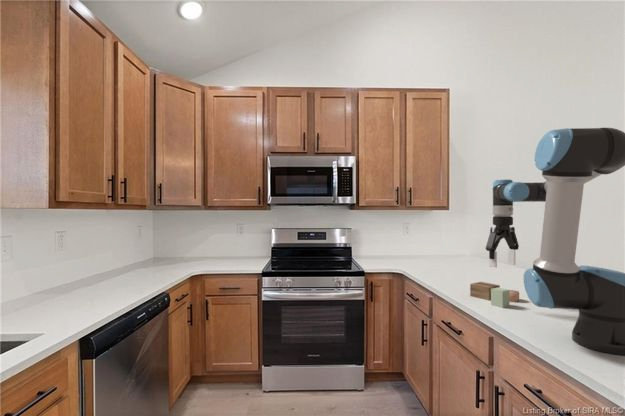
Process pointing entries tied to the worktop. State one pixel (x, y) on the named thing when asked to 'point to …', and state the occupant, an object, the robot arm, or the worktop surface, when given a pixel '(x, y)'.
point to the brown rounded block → (513, 296)
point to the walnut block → (482, 290)
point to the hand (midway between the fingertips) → (502, 265)
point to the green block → (500, 297)
